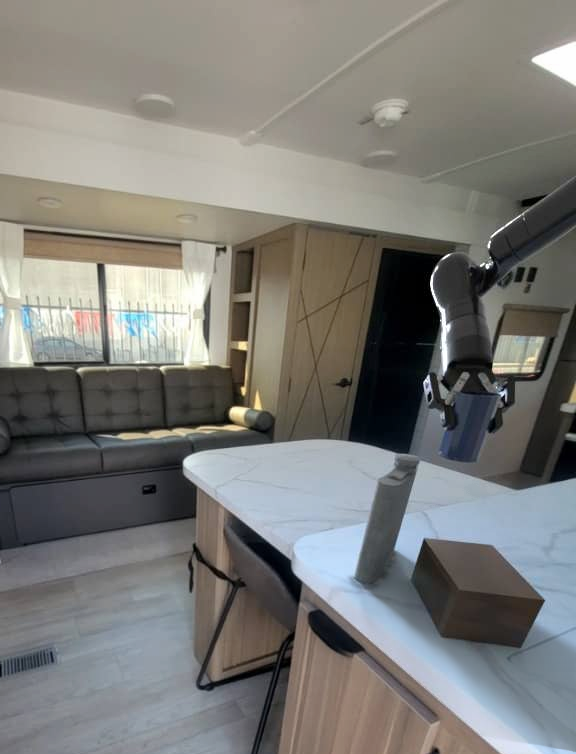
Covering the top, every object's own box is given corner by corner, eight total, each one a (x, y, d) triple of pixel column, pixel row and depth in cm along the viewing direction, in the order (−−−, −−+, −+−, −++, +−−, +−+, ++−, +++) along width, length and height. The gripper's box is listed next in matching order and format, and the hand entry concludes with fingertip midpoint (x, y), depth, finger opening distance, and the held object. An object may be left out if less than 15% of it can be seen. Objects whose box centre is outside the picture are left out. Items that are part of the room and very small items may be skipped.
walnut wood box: (475, 586, 67) (492, 544, 63) (521, 648, 54) (545, 600, 51) (410, 579, 68) (423, 537, 65) (441, 637, 56) (459, 589, 52)
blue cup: (469, 453, 74) (490, 390, 69) (485, 463, 68) (509, 397, 63) (433, 450, 75) (451, 389, 70) (445, 461, 69) (466, 395, 64)
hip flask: (377, 542, 79) (403, 442, 71) (399, 549, 77) (429, 447, 68) (351, 578, 68) (379, 465, 59) (376, 588, 66) (409, 472, 57)
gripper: (431, 332, 71) (435, 414, 65) (522, 334, 68) (535, 420, 63) (414, 361, 78) (417, 438, 72) (496, 364, 75) (505, 443, 70)
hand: (472, 429), depth 68 cm, fingers closed on blue cup, 6 cm apart
